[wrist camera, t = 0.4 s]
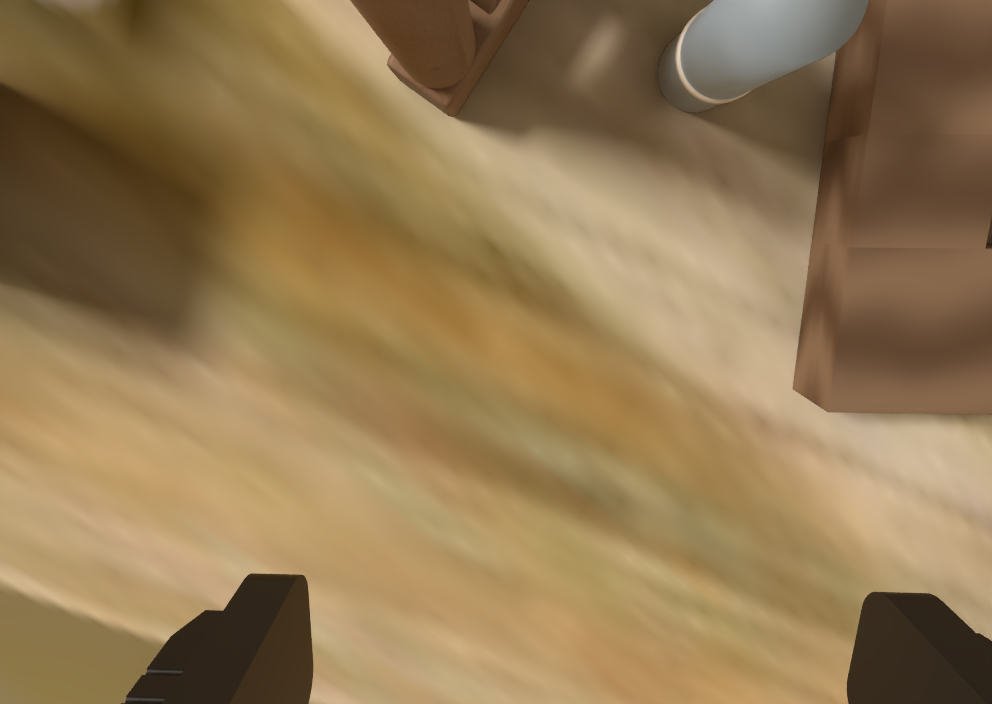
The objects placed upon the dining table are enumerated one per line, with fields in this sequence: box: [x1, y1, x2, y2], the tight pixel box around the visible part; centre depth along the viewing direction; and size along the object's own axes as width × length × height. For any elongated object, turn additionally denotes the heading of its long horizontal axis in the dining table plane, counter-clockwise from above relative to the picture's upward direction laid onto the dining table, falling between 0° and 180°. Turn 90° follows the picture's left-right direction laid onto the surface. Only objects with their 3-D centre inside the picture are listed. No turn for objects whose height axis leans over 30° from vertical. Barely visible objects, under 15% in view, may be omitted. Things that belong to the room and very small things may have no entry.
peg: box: [658, 0, 868, 113], centre depth 26 cm, size 4×4×12 cm
